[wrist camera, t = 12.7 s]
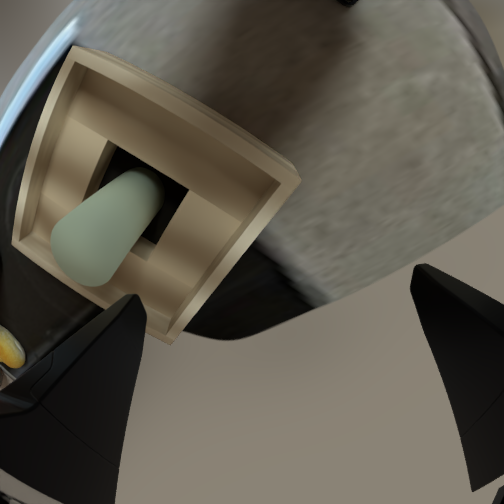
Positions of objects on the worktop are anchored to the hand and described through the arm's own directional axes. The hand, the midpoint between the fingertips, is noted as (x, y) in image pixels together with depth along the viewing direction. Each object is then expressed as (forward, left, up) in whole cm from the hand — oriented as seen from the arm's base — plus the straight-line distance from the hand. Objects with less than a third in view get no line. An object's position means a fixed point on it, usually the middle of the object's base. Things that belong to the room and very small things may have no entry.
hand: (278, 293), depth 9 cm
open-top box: (+6, -7, -13) cm, 16 cm away
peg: (+6, -7, -13) cm, 16 cm away
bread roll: (+41, -20, -13) cm, 47 cm away
